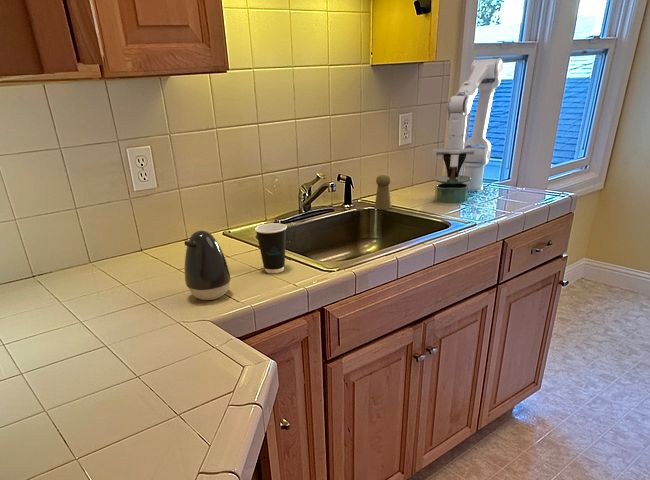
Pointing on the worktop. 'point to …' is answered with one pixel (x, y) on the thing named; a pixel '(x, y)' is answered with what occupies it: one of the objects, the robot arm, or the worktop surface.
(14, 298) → the worktop surface
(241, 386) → the worktop surface
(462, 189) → the green pot
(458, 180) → the lid
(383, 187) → the beige peg figure
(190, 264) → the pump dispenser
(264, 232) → the dixie cup
